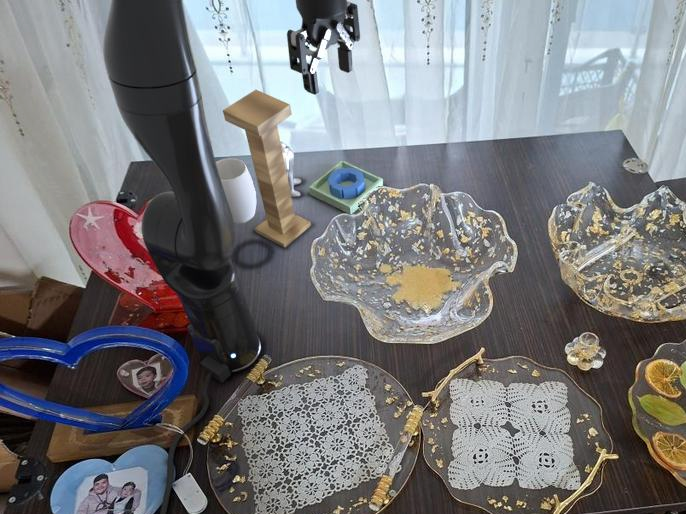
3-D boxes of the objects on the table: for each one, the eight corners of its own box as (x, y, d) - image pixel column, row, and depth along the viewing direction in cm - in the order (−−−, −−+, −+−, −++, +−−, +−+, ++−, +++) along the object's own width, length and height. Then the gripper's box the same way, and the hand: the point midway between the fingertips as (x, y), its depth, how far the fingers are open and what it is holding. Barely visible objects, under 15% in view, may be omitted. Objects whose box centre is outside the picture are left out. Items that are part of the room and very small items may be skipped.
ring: (351, 203, 130) (350, 195, 128) (322, 191, 132) (321, 182, 130) (371, 184, 134) (370, 175, 132) (342, 172, 136) (342, 163, 135)
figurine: (300, 199, 131) (291, 152, 122) (280, 199, 131) (270, 153, 122) (302, 178, 136) (293, 131, 126) (282, 178, 136) (273, 132, 126)
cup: (234, 270, 118) (205, 184, 102) (233, 244, 123) (206, 158, 106) (272, 264, 119) (250, 179, 103) (270, 239, 124) (248, 153, 107)
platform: (284, 248, 122) (257, 126, 100) (255, 232, 125) (222, 110, 103) (311, 225, 126) (290, 104, 104) (282, 210, 129) (255, 89, 107)
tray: (350, 215, 129) (350, 207, 127) (309, 194, 132) (308, 186, 131) (383, 186, 135) (382, 178, 133) (342, 167, 138) (342, 159, 137)
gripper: (306, -1, 83) (319, 108, 95) (369, -34, 90) (373, 70, 103) (264, -15, 85) (282, 92, 98) (330, -46, 93) (339, 57, 105)
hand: (329, 81), depth 100 cm, fingers open, 8 cm apart
